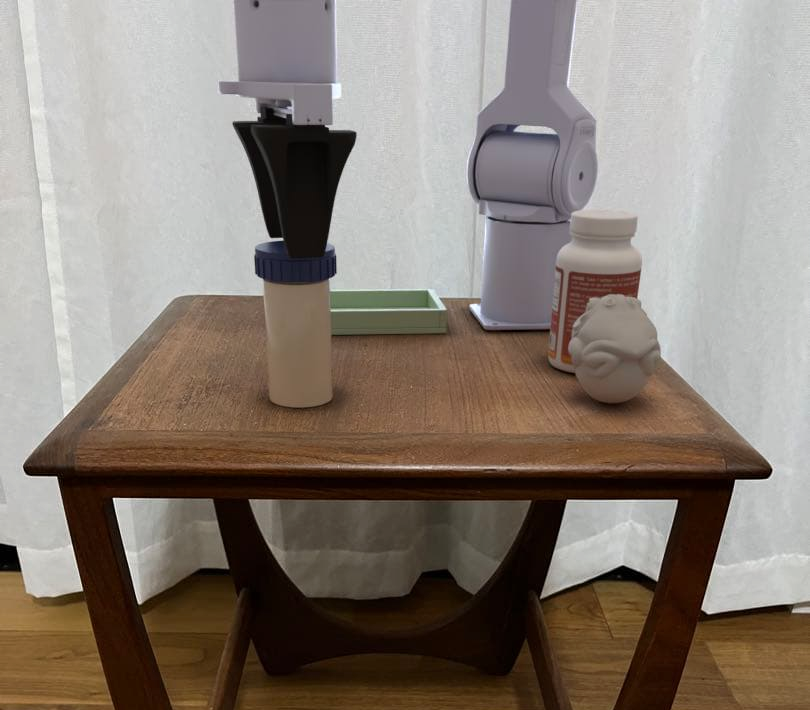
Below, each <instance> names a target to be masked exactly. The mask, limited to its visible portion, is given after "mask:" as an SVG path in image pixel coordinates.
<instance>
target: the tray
mask: <svg viewBox="0 0 810 710" xmlns="http://www.w3.org/2000/svg"><path fill="white" fill-rule="evenodd" d="M330 299H331V336H347V335H348V336H349V335H350V336H352V335H354V336H355V335H356V336H357V335H416V334H417V335H418V334H420V335H422V334H423V335H424V334H427V335H428V334H429V335H430V334H447V323H448V309H447V308H446V306H445V305H444V303H443V302H442V301H441V299H440V297H439V296H438V295H437V292H436V291H435V289H433V288H403V289H402V288H393V289H392V288H391V289H389V288H388V289H387V288H386V289H385V288H383V289H330Z"/></svg>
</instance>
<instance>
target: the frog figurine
mask: <svg viewBox="0 0 810 710" xmlns="http://www.w3.org/2000/svg"><path fill="white" fill-rule="evenodd" d="M587 305H588V306H587V307H586V312H585V313H584V314H583V315H581V316H580V317H579V318H578V319H577V320H576V322H575V323H574V325H573V330H572V336H571V339H572V340H571V341H570V343H569V346H568V351H569V354H570V355H571V356H572V357H571V361H572V363H573V366H574V370H575V373H574V374H575V376H576V378H577V380H578V383H579V385H580V386H581V388H582V389H583V391H584V392H585V393H586V394H587V395H588V396H589V397H591V398H592V399H594V400H596V401H599V402H602V403H605V404H620V403H621V404H622V403H624V402H627V401H629V400H631V399H633V398H634V397H636V396H637V395H639V394H640V393H641V392H642V391H643V390H644V389H645V387H646V386H647V384H648V382H649V380H650V378H651V377H652V376H653V375H654V373H656V372H655V371H656V369H655V365H657V364H658V363H660V362H661V359H662V358H661V357H662V351H661V345H660V342H659V339H658V330H657V328H656V326H655V324H654V323H653V321H652V320H651V319H650V318H649V316H648V314H647V312H646V311H645V310H644V309H643V308H642V301H641V300H640V299H639V298H638V297H637V298H634V297H625V296H624V295H621V294H617V295H613V294H609V295H607V296H604V297H602V298H601V299H599V298H595V297H593V298H590V299H589V303H587Z"/></svg>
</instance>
